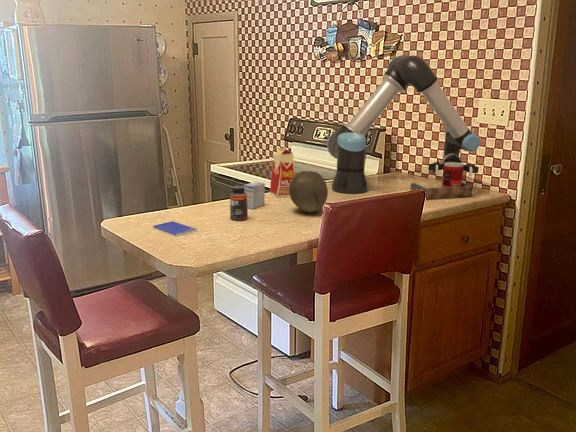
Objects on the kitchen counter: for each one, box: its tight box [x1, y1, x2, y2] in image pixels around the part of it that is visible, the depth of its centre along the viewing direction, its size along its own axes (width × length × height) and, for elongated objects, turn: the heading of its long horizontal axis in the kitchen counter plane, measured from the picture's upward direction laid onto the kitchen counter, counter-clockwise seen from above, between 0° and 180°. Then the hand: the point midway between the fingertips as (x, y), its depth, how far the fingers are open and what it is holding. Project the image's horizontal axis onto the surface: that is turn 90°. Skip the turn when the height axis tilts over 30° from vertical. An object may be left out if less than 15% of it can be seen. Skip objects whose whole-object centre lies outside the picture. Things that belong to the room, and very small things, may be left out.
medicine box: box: [243, 181, 266, 210], centre depth 212 cm, size 8×4×9 cm, turn 149°
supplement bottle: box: [229, 185, 249, 222], centre depth 196 cm, size 6×6×11 cm
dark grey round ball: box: [289, 170, 329, 214], centre depth 205 cm, size 14×14×15 cm
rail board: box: [410, 182, 473, 201], centre depth 235 cm, size 22×11×4 cm, turn 107°
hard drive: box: [152, 220, 198, 238], centre depth 183 cm, size 2×8×12 cm
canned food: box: [441, 162, 465, 187], centre depth 236 cm, size 8×8×11 cm
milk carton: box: [269, 146, 296, 198], centre depth 230 cm, size 9×9×20 cm
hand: (453, 172), depth 234 cm, fingers open, 13 cm apart
